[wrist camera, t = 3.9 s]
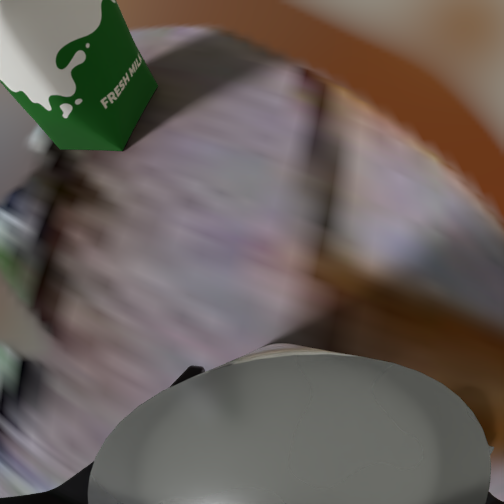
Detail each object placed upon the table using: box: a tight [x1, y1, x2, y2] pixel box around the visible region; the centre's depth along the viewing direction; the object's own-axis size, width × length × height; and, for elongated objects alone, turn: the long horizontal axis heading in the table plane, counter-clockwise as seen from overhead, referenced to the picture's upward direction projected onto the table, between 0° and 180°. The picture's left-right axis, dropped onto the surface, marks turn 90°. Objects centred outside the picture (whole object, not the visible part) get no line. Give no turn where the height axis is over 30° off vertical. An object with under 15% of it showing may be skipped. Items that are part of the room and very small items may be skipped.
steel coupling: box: [88, 343, 491, 504], centre depth 8 cm, size 5×5×13 cm
